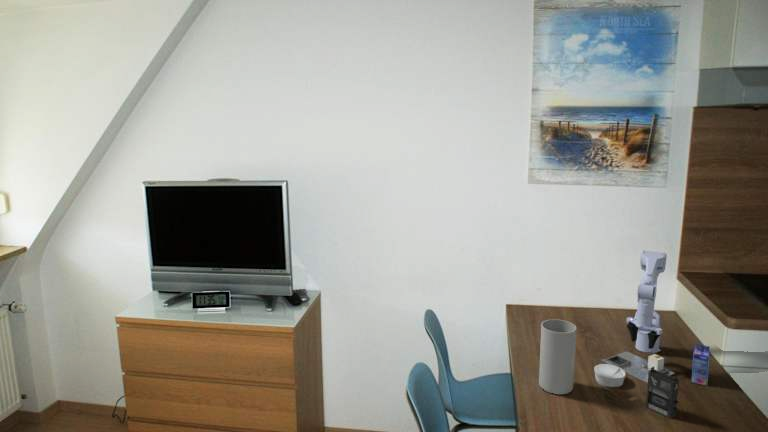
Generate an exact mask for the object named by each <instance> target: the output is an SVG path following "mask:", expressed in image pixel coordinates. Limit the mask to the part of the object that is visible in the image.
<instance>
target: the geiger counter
mask: <svg viewBox="0 0 768 432" xmlns="http://www.w3.org/2000/svg"><path fill="white" fill-rule="evenodd" d="M646 384H647V386H646V387H647V388H646V398H645V408H646V409H649V410H651V411H653V412H655V413H657V414H659V415H661V416H664V417H665V418H669V419H674V417H676V416H677V412H678V410H679V408H677V406H678V405H679V401H678V394H679V384H680V378H679V377H678V375H675V376H671V375H670V376H669V375H666V374H663V373H661V372H658V371H656V370H655V369H654V367H652V368H651V370H650V371H649V373H648V383H646Z"/></svg>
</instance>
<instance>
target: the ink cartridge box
mask: <svg viewBox="0 0 768 432" xmlns="http://www.w3.org/2000/svg"><path fill="white" fill-rule="evenodd" d="M710 351H711V350H710V346H709V345H704V344H700V342H699V341H697V343H695V344H694V347H693V355H692V356H693V357H692V367H691V368H692V369H691V383H695V384H699V385H703V386H708V380H709V367H710V366H709V364H710Z"/></svg>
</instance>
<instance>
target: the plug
mask: <svg viewBox="0 0 768 432" xmlns="http://www.w3.org/2000/svg"><path fill="white" fill-rule="evenodd" d="M647 361H648V369H649V370H651V368H652V367H654V369H655V370H656V371H658V372H662V371H663V367H664V368H665V357H663V356H660V354H657V353H653V354H651V355H649V356H648V359H647Z"/></svg>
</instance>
